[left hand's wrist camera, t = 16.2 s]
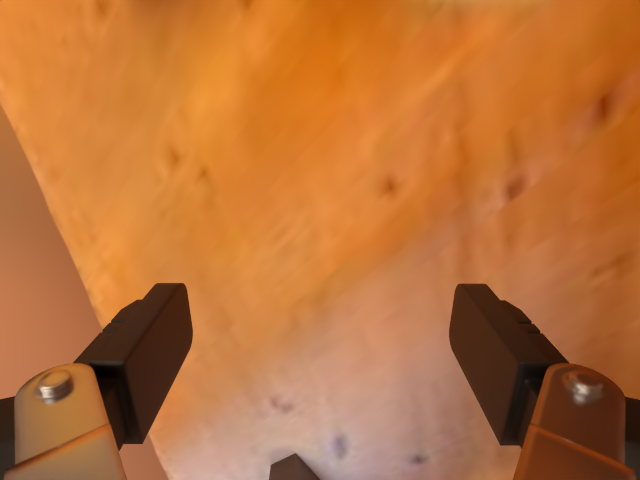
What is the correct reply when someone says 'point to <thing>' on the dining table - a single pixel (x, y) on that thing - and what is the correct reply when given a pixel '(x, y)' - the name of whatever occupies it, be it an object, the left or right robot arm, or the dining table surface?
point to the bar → (291, 470)
